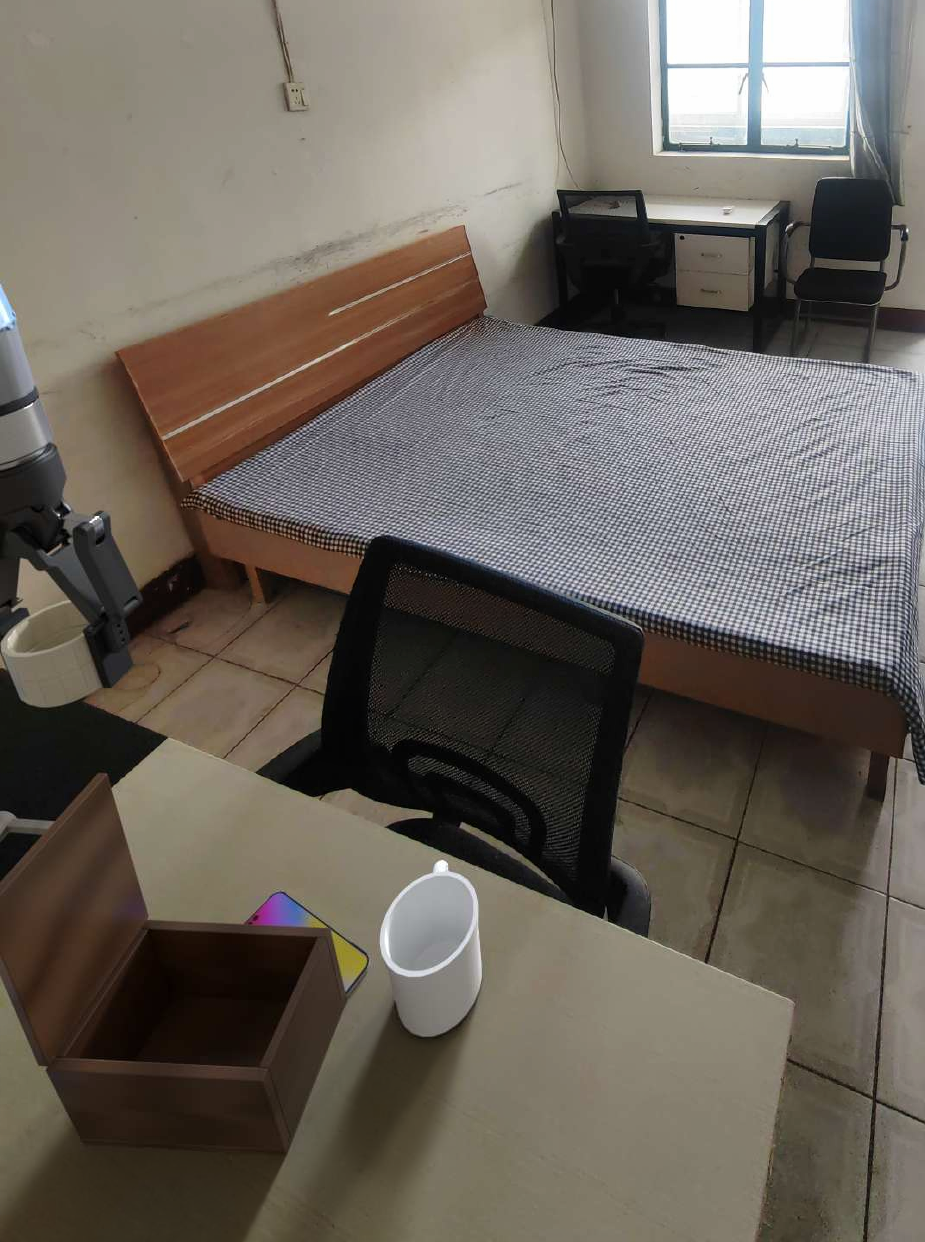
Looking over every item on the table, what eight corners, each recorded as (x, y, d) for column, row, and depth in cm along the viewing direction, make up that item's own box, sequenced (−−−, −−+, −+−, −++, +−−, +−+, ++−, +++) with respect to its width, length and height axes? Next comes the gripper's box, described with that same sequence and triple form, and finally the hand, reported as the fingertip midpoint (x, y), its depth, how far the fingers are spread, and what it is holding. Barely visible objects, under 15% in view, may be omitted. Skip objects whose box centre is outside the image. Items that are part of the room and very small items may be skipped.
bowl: (-2, 710, 59) (-25, 656, 57) (70, 646, 66) (52, 596, 64) (82, 711, 59) (62, 657, 57) (145, 647, 66) (129, 597, 64)
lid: (107, 772, 57) (13, 765, 57) (-17, 913, 47) (-131, 904, 48) (149, 916, 64) (64, 909, 64) (47, 1067, 54) (-54, 1058, 54)
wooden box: (347, 998, 67) (330, 927, 63) (286, 1155, 57) (262, 1081, 53) (173, 990, 67) (146, 919, 64) (82, 1144, 57) (44, 1070, 54)
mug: (482, 1035, 64) (472, 966, 61) (383, 1055, 63) (368, 985, 60) (491, 909, 75) (484, 843, 71) (407, 923, 73) (395, 857, 70)
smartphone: (310, 1041, 64) (211, 956, 70) (311, 1045, 64) (213, 960, 70) (374, 958, 70) (278, 886, 76) (375, 962, 70) (279, 890, 76)
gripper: (-186, 478, 51) (-77, 707, 59) (79, 482, 51) (154, 711, 59) (-81, 433, 59) (4, 643, 66) (152, 436, 58) (210, 646, 66)
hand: (75, 675), depth 63 cm, fingers closed on bowl, 7 cm apart
